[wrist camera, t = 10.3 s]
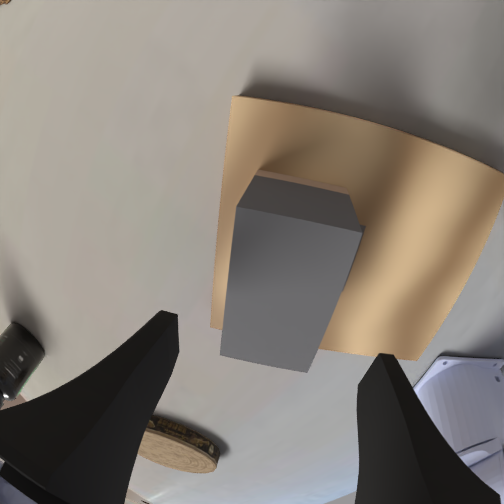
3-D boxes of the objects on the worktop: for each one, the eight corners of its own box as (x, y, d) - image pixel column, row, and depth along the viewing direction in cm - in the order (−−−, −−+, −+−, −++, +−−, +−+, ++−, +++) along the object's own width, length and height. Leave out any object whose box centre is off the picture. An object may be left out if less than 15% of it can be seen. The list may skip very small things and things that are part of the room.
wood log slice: (165, 455, 44) (161, 468, 42) (102, 409, 38) (95, 423, 35) (240, 459, 38) (236, 475, 36) (175, 409, 32) (168, 429, 30)
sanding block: (346, 187, 14) (362, 233, 10) (310, 309, 19) (307, 372, 14) (257, 169, 15) (236, 206, 10) (239, 294, 19) (219, 355, 15)
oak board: (497, 169, 13) (510, 177, 12) (413, 346, 21) (417, 361, 20) (238, 95, 14) (232, 96, 13) (215, 313, 22) (209, 327, 21)
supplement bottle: (53, 360, 33) (11, 424, 23) (29, 354, 34) (-10, 410, 24) (26, 322, 30) (-25, 388, 19) (4, 320, 31) (-41, 376, 21)
